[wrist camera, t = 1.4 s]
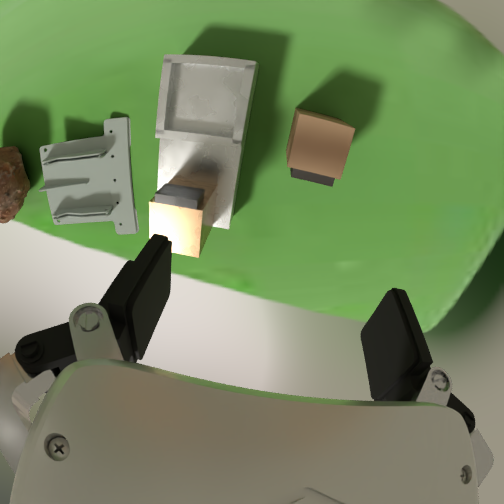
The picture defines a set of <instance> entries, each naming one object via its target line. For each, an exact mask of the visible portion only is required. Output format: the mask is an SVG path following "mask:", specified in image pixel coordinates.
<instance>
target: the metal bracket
mask: <svg viewBox="0 0 504 504" xmlns="http://www.w3.org/2000/svg"><path fill="white" fill-rule="evenodd" d="M110 130H112V131H113V132H112V133H110ZM130 145H131V134H130V119H129V117H121V118H112V119H106V120H105V121H104V135H103V136H100V137H92V138H85V139H78V140H72V141H66V142H61V143H55V144H50V145H45V146H41V147H40V156H41V163H42V169H43V175H44V181H45V186H43V187H42V188H41V189H39V192H41V191H47V196H48V201H49V205H50V209H51V214H52V218H53V222H54V224H55V225H60V224H72V223H86V222H101V221H113V222H114V223H115V229H116V233H117V234H135V233H137V232H138V231H139V226H138V219H137V211H136V209H135V207H134V198H133V188H132V177H131V164H130ZM45 148H46V149H47V152H45V151H44V149H45ZM112 155H114V157H113V158H112ZM114 179H116V181H114ZM116 202H119V204H117V203H116ZM58 220H60V222H58ZM120 223H122V225H120Z"/></svg>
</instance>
